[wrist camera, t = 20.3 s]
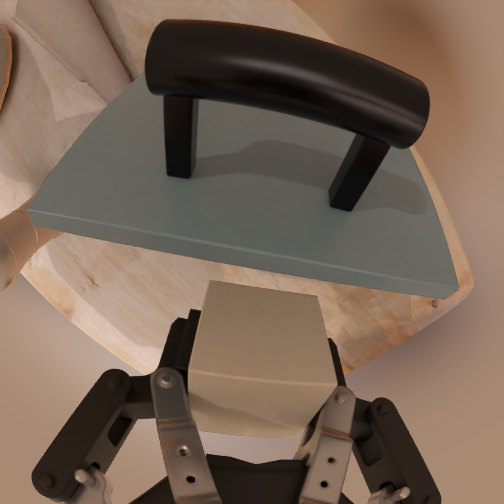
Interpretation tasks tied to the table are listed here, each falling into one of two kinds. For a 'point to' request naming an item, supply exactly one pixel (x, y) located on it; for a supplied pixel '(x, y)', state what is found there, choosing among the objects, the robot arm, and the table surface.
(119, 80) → the beige long cone
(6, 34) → the desk lamp
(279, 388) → the tan cube
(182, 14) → the table surface
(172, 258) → the table surface
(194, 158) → the lid
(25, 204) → the plastic bottle
